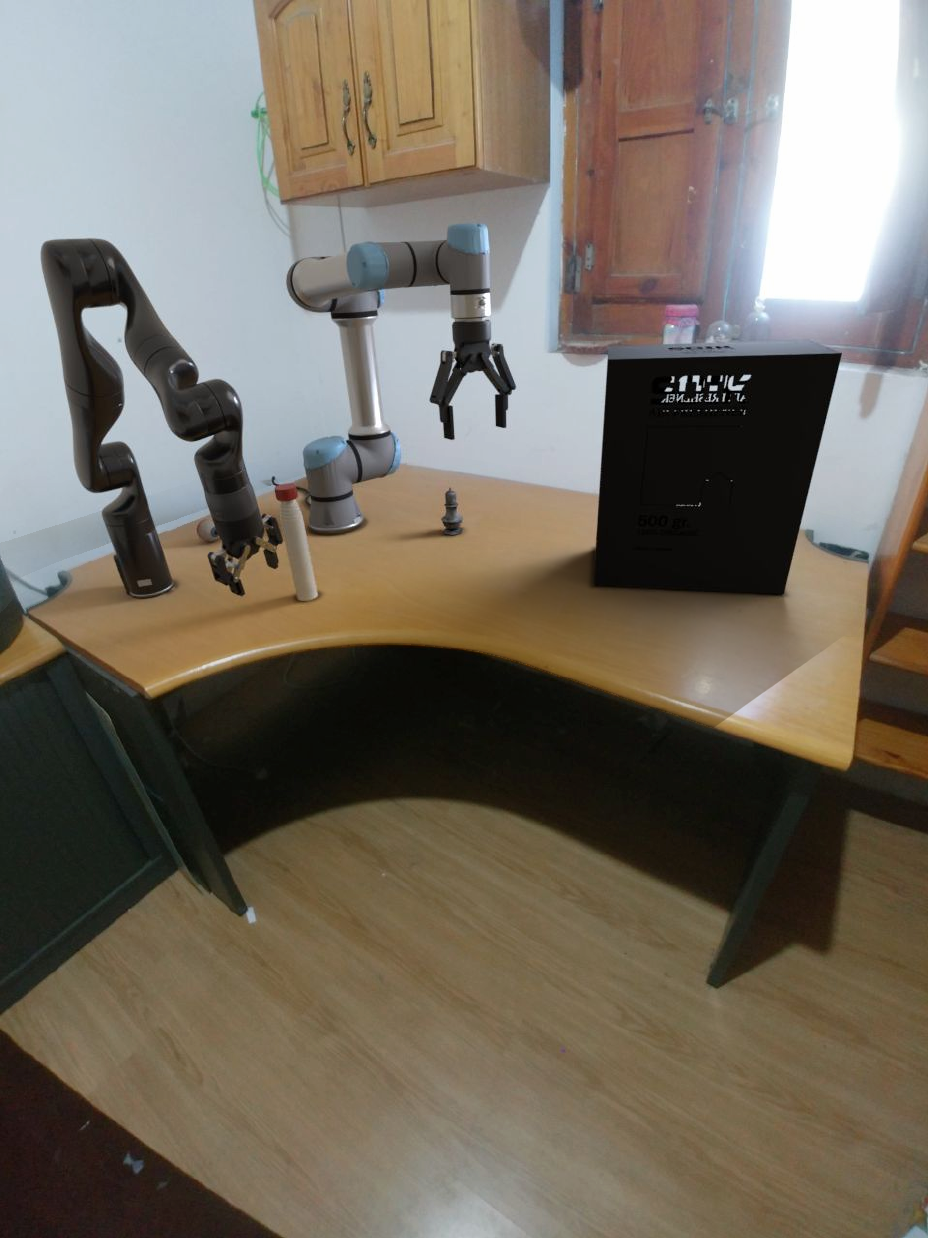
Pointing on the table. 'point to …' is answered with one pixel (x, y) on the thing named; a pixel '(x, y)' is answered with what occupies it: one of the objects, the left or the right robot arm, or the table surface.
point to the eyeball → (207, 530)
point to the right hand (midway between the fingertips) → (475, 432)
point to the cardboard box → (709, 463)
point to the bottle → (298, 550)
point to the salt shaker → (451, 515)
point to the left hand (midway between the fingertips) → (256, 580)
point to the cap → (286, 492)
